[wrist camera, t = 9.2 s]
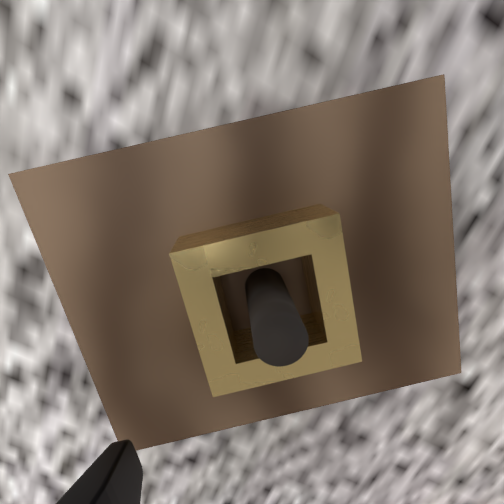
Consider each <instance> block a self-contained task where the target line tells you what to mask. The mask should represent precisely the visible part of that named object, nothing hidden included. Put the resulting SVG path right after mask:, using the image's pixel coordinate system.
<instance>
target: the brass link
mask: <svg viewBox="0 0 504 504" xmlns="http://www.w3.org/2000/svg"><path fill="white" fill-rule="evenodd" d="M169 255H170V258H171V261H172V265H173V268H174V271H175V275H176V278H177V281H178V284H179V288H180V291H181V294H182V298H183V301H184V304H185V307H186V311H187V314H188V317H189V321H190V324H191V327H192V330H193V334H194V337H195V340H196V344H197V347H198V350H199V353H200V357H201V360H202V363H203V367H204V370H205V373H206V376H207V380H208V383H209V386H210V390H211V393H212V396H213V397H217V396H221V395H225V394H229V393H234V392H238V391H242V390H246V389H250V388H254V387H258V386H263V385H267V384H271V383H275V382H279V381H283V380H288V379H292V378H296V377H300V376H304V375H308V374H313V373H317V372H321V371H325V370H329V369H333V368H338V367H342V366H346V365H350V364H354V363H358V362H362V357H361V350H360V344H359V337H358V331H357V324H356V318H355V311H354V305H353V298H352V291H351V285H350V278H349V272H348V265H347V259H346V252H345V246H344V239H343V233H342V226H341V220H340V213H338V212H336V211H334V210H332V209H330V208H328V207H326V206H324V205H322V204H316V205H311V206H307V207H303V208H299V209H294V210H290V211H286V212H282V213H277V214H273V215H269V216H265V217H260V218H256V219H252V220H247V221H243V222H239V223H235V224H230V225H226V226H222V227H218V228H213V229H209V230H205V231H201V232H196V233H192V234H188V235H184V236H179V237H178V239H177V241H176V242H175V244H174V246H173V248H172V249H171V251H170V253H169ZM297 257H301V260H302V266H303V271H304V276H305V281H306V286H307V292H308V297H309V302H310V307H311V313H309V314H305V315H300V317H301V320H302V322H303V324H304V326H305V328H306V330H307V333H308V337H309V343H308V347H307V350H306V352H305V353H304V355H303V356H302V357H301V358H300V359H299V360H298V361H296V362H295V363H293V364H290V365H287V366H281V367H277V366H271V365H268V364H266V363H265V362H263V361H262V360H261V359H260V358H259V357H258V356H257V354H256V352H255V350H254V345H253V338H252V332H251V327H250V328H246V329H242V330H237V331H234V329H233V325H232V321H231V318H230V314H229V310H228V306H227V303H226V299H225V295H224V291H223V288H222V284H221V280H220V276H221V275H225V274H230V273H234V272H238V271H242V270H246V269H251V268H255V267H259V266H263V265H268V264H272V263H276V262H280V261H284V260H289V259H293V258H297Z"/></svg>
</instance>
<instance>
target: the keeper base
mask: <svg viewBox="0 0 504 504" xmlns="http://www.w3.org/2000/svg"><path fill="white" fill-rule="evenodd" d="M8 175H9V177H10V179H11V182H12V184H13V187H14V189H15V192H16V194H17V196H18V199H19V201H20V204H21V206H22V209H23V211H24V214H25V216H26V218H27V221H28V223H29V226H30V228H31V231H32V233H33V235H34V238H35V240H36V243H37V245H38V248H39V250H40V252H41V255H42V257H43V260H44V262H45V265H46V267H47V270H48V272H49V274H50V277H51V279H52V282H53V284H54V287H55V289H56V291H57V294H58V296H59V299H60V301H61V304H62V306H63V308H64V311H65V313H66V316H67V318H68V321H69V323H70V326H71V328H72V330H73V333H74V335H75V338H76V340H77V343H78V345H79V347H80V350H81V352H82V355H83V357H84V360H85V362H86V365H87V367H88V369H89V372H90V374H91V377H92V379H93V382H94V384H95V386H96V389H97V391H98V394H99V396H100V399H101V401H102V403H103V406H104V408H105V411H106V413H107V416H108V418H109V421H110V423H111V425H112V428H113V430H114V433H115V435H116V438H117V440H118V441H122V440H126V439H129V440H131V441H132V443H133V445H134V448H135V450H140V449H144V448H149V447H153V446H157V445H161V444H165V443H169V442H174V441H178V440H182V439H186V438H190V437H195V436H199V435H203V434H207V433H211V432H216V431H220V430H224V429H228V428H232V427H236V426H241V425H245V424H249V423H253V422H257V421H262V420H266V419H270V418H274V417H278V416H282V415H287V414H291V413H295V412H299V411H303V410H308V409H312V408H316V407H320V406H324V405H329V404H333V403H337V402H341V401H345V400H349V399H354V398H358V397H362V396H366V395H370V394H375V393H379V392H383V391H387V390H391V389H395V388H400V387H404V386H408V385H412V384H416V383H421V382H425V381H429V380H433V379H437V378H441V377H446V376H450V375H454V374H458V373H461V359H460V341H459V323H458V306H457V288H456V271H455V253H454V236H453V218H452V201H451V183H450V166H449V148H448V131H447V113H446V95H445V78H444V75H439V76H435V77H431V78H426V79H422V80H418V81H413V82H409V83H404V84H400V85H396V86H391V87H387V88H383V89H378V90H374V91H370V92H365V93H361V94H356V95H352V96H348V97H343V98H339V99H335V100H330V101H326V102H321V103H317V104H313V105H308V106H304V107H300V108H295V109H291V110H286V111H282V112H278V113H273V114H269V115H265V116H260V117H256V118H252V119H247V120H243V121H238V122H234V123H230V124H225V125H221V126H217V127H212V128H208V129H203V130H199V131H195V132H190V133H186V134H182V135H177V136H173V137H168V138H164V139H160V140H155V141H151V142H147V143H142V144H138V145H134V146H129V147H125V148H120V149H116V150H112V151H107V152H103V153H99V154H94V155H90V156H85V157H81V158H77V159H72V160H68V161H64V162H59V163H55V164H50V165H46V166H42V167H37V168H33V169H29V170H24V171H20V172H16V173H11V174H8ZM316 204H322V205H324V206H326V207H328V208H330V209H332V210H334V211H336V212H338V213H340V220H341V226H342V233H343V239H344V246H345V252H346V259H347V265H348V272H349V278H350V285H351V291H352V298H353V305H354V311H355V318H356V324H357V331H358V337H359V344H360V350H361V357H362V362H358V363H354V364H350V365H346V366H342V367H338V368H333V369H329V370H325V371H321V372H317V373H313V374H308V375H304V376H300V377H296V378H292V379H288V380H283V381H279V382H275V383H271V384H267V385H263V386H258V387H254V388H250V389H246V390H242V391H238V392H234V393H229V394H225V395H221V396H217V397H213V396H212V393H211V390H210V386H209V383H208V380H207V376H206V373H205V370H204V367H203V363H202V360H201V357H200V353H199V350H198V347H197V344H196V340H195V337H194V334H193V330H192V327H191V324H190V321H189V317H188V314H187V311H186V307H185V304H184V301H183V298H182V294H181V291H180V288H179V284H178V281H177V278H176V275H175V271H174V268H173V265H172V261H171V258H170V255H169V253H170V251H171V249H172V248H173V246H174V244H175V242H176V241H177V239H178V237H179V236H184V235H188V234H192V233H196V232H201V231H205V230H209V229H213V228H218V227H222V226H226V225H230V224H235V223H239V222H243V221H247V220H252V219H256V218H260V217H265V216H269V215H273V214H277V213H282V212H286V211H290V210H294V209H299V208H303V207H307V206H311V205H316ZM220 280H221V284H222V288H223V291H224V295H225V299H226V303H227V306H228V310H229V314H230V318H231V321H232V325H233V329H234V331H237V330H242V329H246V328H250V327H251V332H252V338H253V345H254V350H255V352H256V354H257V356H258V357H259V358H260V359H261V360H262V361H263V362H265V363H266V364H268V365H271V366H277V367H281V366H287V365H290V364H293V363H295V362H296V361H298V360H299V359H300V358H301V357H302V356H303V355H304V353H305V352H306V350H307V347H308V343H309V337H308V333H307V330H306V328H305V326H304V324H303V322H302V320H301V317H300V315H305V314H309V313H311V307H310V302H309V297H308V292H307V286H306V281H305V276H304V271H303V266H302V260H301V257H297V258H293V259H289V260H284V261H280V262H276V263H272V264H268V265H263V266H259V267H255V268H251V269H246V270H242V271H238V272H234V273H230V274H225V275H221V276H220Z"/></svg>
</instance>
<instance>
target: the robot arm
mask: <svg viewBox="0 0 504 504" xmlns="http://www.w3.org/2000/svg"><path fill="white" fill-rule="evenodd" d="M142 479H143V470H142V465H141V463H140V460H139V458H138V455H137V453H136V450H135V448H134V445H133V443H132V441H131V440H129V439H126V440H122V441H117V442H114V443H112V444H110V445H109V446H108V447H107V449H106V450H105V451H104V452H103V453H102V454H101V455H100V456H99V457H98V458H97V459H96V460H95V462H94V463H93V464H92V465H91V466H90V467H89V468H88V469H87V470H86V471H85V472H84V474H83V475H82V476H81V477H80V478H79V479H78V480H77V481H76V482H75V483H74V484H73V485H72V487H71V488H70V489H69V490H68V491H67V492H66V493H65V494H64V495H63V496H62V497H61V498H60V500H59V501H58V502H57V503H56V504H140V499H141V489H142Z"/></svg>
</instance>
